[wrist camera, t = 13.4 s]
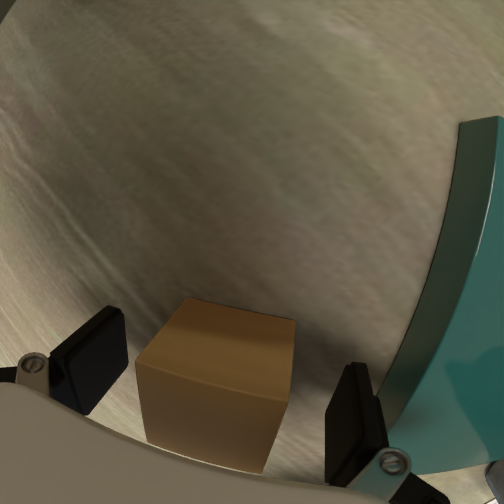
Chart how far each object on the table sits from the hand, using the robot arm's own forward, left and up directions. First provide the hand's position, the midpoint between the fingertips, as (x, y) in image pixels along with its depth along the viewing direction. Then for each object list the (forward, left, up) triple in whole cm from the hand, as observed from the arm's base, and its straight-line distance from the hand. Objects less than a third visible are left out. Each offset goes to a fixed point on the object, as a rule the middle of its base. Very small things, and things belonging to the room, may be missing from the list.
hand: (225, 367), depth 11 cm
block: (0, 0, -1) cm, 1 cm away
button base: (-3, +13, -1) cm, 13 cm away
